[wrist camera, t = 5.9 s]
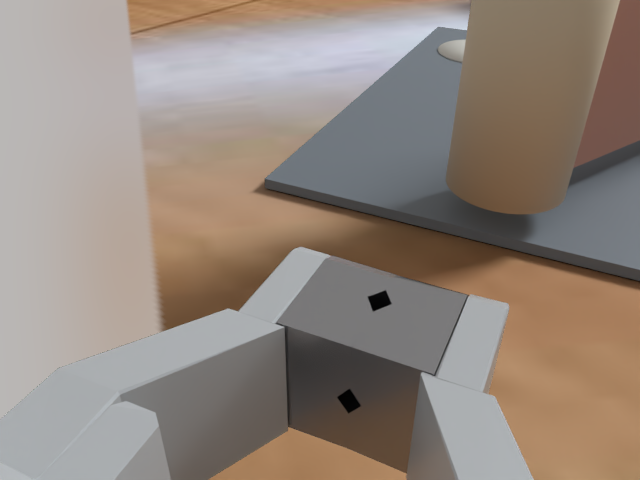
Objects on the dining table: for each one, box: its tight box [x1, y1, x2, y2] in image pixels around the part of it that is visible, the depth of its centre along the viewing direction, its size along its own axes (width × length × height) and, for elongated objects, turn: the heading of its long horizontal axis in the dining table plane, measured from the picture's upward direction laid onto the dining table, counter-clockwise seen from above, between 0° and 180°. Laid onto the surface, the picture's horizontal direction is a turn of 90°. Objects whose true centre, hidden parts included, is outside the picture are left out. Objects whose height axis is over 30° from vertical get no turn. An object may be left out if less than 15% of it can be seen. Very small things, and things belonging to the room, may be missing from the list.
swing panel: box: [446, 0, 640, 214], centre depth 20 cm, size 13×4×10 cm, turn 125°
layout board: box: [265, 27, 640, 281], centre depth 28 cm, size 22×24×1 cm
